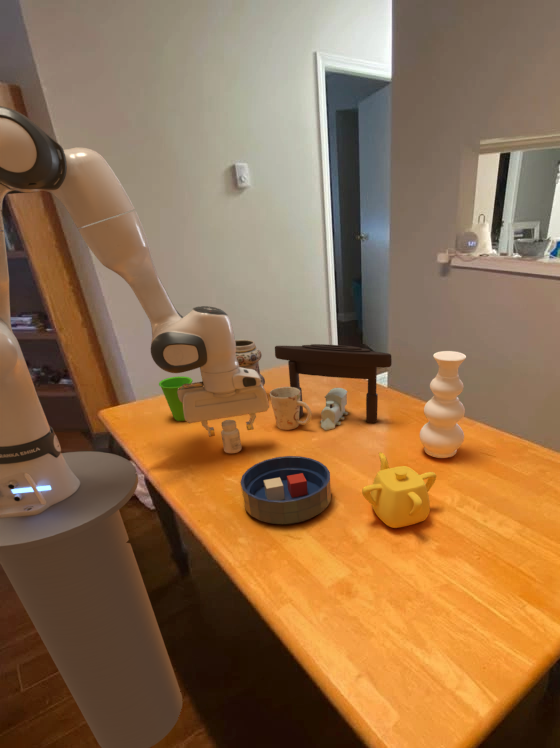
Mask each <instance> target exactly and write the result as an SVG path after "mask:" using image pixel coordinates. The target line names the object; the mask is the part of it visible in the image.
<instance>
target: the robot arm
mask: <svg viewBox="0 0 560 748" xmlns="http://www.w3.org/2000/svg"><path fill="white" fill-rule="evenodd" d="M41 191H44V192H48V193H49V194H52V195H53V196H55V197H56V198H57V199H58V200H59V202H61V204H62V206H64V208H65V209H66V211H67V212H68V214H69V216H70V218H71V220H72V221H73V223H74V226H75V227H76V228H77V230H78V232H79V234H80V235H81V237H82V240H83V241H84V242H85V244H86V245H87V247H88V248H89V250H90V251H91V252H92V254H93V255H94V256H95V257H96V259H97V260H98V261H99V262H100V264H101V265H102V266H103V267H105V268H107V269H109V270H110V271H112V272H114V273H115V274H116V275H118V276H119V277H121V278H122V279H123V280H124V281H125V282H126V283H127V284H128V286H129V287H130V288H131V290H132V291H133V293H134V295H135V296H136V299H137V301H138V302H139V304H140V306H141V308H142V309H143V311H144V312H145V314H146V316H147V318H148V319H149V323H150V326H151V343H150V355H151V359H152V360H153V362H154V363H155V365H156V366H157V367H159V368H160V369H161V370H163V371H164V372H167V373H170V374H182V373H186V372H190V371H194V370H196V369H199V371H200V377H201V380H202V381H197V382H192V383H191V384H183V386H181V387H179V389H178V391H177V394H178V398H179V400H180V401H181V402H182V403H183V411H184V417H185V422H187V424H194V423H200V422H201V426H202V427H203V428H204V429H205V430H206V431H207V433H208V437H215V436H216V433H215V428H214V426H211V427H210V425H208V424H209V423H208V421H213V420H220V419H225V418H226V419H229V418H234V417H239V416H247V415H249V417H250V418H249V420H248V421H245V425H246V430H247V431H253V430H254V422H255V420H256V419H257V414H259V413H260V414H261V413H266V412H268V411H269V409H270V403H269V398H268V394H267V391H266V389H265V387H264V386H263V385H262V384H261V379H260V376H259V374H258V373H257V372H256V371H255V370H253V369H247V368H241V367H239V363H238V360H237V358H236V342H235V340H236V337H235V332H234V327H233V323H232V320H231V318H230V316H229V314H228V313H226V311H224V310H223V309H221V308H218V307H214V306H207V305H202V306H201V305H200V306H195V307H193V308H192V309H191V311H189V312H188V313H187V314H186V315H185V316H183V315H182V314H181V313H180V312H179V311H178V310H177V309H176V307H175V306H174V304H173V302H172V300H171V297H170V296H169V294H168V292H167V290H166V288H165V286H164V283H163V282H162V280H161V279H160V276H159V275H158V272H157V270H156V266H155V263H154V257H153V255H152V251H151V246H150V243H149V240H148V237H147V234H146V230H145V229H144V226H143V223H142V221H141V219H140V217H139V214H138V212H137V210H135V209H136V208H135V206H134V204H133V202H132V201H131V198H130V197H129V195H128V193H127V191H126V190H125V188H124V186H123V184H122V182H121V181H120V180H119V178H118V176H117V175H116V173H115V171H114V170H113V168H112V167H111V166H110V164H109V163H108V162H107V160H106V159H105V158H104V156H102V154H100V153H99V152H97V151H96V150H94V149H90V148H88V147H79V146H77V147H71V148H66V149H64V148H63V147H62V145H61V144H60V143H59V142H57V141H56V140H55V139H54V138H52V137H51V136H50V135H49V134H48V133H46V131H44V130H43V129H42V128H41V127H40V126H39V125H37V124H36V123H35V122H34V121H33V120H32V119H30V118H29V117H28V116H26V115H24V114H23V113H21V112H19V111H17V110H15V109H12V108H10V107H6V106H1V105H0V518H7V517H18V516H29V515H37V514H39V513H41V512H43V511H44V510H46V509H47V508H49V507H50V506H52V505H54V504H56V503H58V502H60V501H62V500H64V499H66V498H68V497H69V496H71V495H72V494H73V493H75V492H76V491H77V489H78V488H79V486H80V481H79V479H78V478H77V477H76V476H75V475H74V473H73V472H72V470H71V469H70V468H69V466H68V464H67V463H66V461H65V459H64V458H63V456H62V454H61V453H62V448H61V444H60V441H59V439H58V436H57V434H56V433H55V431H54V428H53V427H52V426H51V425H50V424H49V422H48V419H47V416H46V413H45V411H44V409H43V406H42V403H41V400H40V398H39V395H38V393H37V390H36V387H35V384H34V381H33V378H32V377H31V374H30V371H29V367H28V365H27V362H26V359H25V357H24V353H23V351H22V348H21V345H20V343H19V341H18V339H17V337H16V336H15V334H14V332H13V329H12V321H11V320H12V319H11V304H10V303H11V300H10V273H9V263H8V255H7V245H6V236H5V225H4V217H3V203H4V202H3V201H4V198H5V196H6V195H13V194H14V195H15V194H31V193H37V192H41ZM181 388H183V389H181Z"/></svg>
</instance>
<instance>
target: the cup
mask: <svg viewBox="0 0 560 748" xmlns="http://www.w3.org/2000/svg"><path fill="white" fill-rule="evenodd" d="M191 383H193V379H192V378H191V377H189V376H171V377H166V378H163V379H162V380H160V381H159V382H158V386H159V387H160V388H161V391H162V393H163V395H164V397H165V398H164V399H165V401H166V402H167V405H168V407H169V409H170V412H171V414H172V417H173V419H174V420H175V421H177V422H184V421H185V422H186V420H185V417H184V411H183V403H182V402H181V401H180V400H179V398H178V394H177V391H178V389H179V387H181V386H183V384H191ZM181 389H183V388H181Z"/></svg>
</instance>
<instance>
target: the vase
mask: <svg viewBox="0 0 560 748" xmlns="http://www.w3.org/2000/svg"><path fill="white" fill-rule="evenodd" d="M432 357H433V359H434V360H435V362H436V363H437V365H438V370H437V373H436V375H435V377H434V378H432V380H431V381H430V383H429V389H430V391H431V392H432V394H433V395H432V397H431V398H430V399H429V400H428V401H426V403H425V405H424V407H423V414H424V416H425V418H426V419H427V420H428V422H426V423H425V424H424V425H423V426H421V428H420V431H419V441H420V443H421V445H422V446H423V447H424V448H423V450H424V452H425V453H426V455H428V456H430V457H433V458H437V459H448V458H452V457H454V456H455V455H456V454H457V452H458V449H460V447H461V446H462V445H463V444H464V441H465V440H464V439H465V434H464V432H465V431H464V430H463V429H462V427H461V426H460V425H459V424H458V423H460V422H461V421H462V420H463V418H464V417H465V414H466V409H465V406H464V404H463V403H462V401H460V397H458V396H460V394H461V393H462V392H463V390H464V383H463V380H461V378H460V375H459V368H460V366H461V365H462V363H464V361H465V360H466V359H467V356H466V354H464V353H462V352H460V351H456V350H455V351H454V350H442V351H437V352H434V354H433V356H432Z"/></svg>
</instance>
